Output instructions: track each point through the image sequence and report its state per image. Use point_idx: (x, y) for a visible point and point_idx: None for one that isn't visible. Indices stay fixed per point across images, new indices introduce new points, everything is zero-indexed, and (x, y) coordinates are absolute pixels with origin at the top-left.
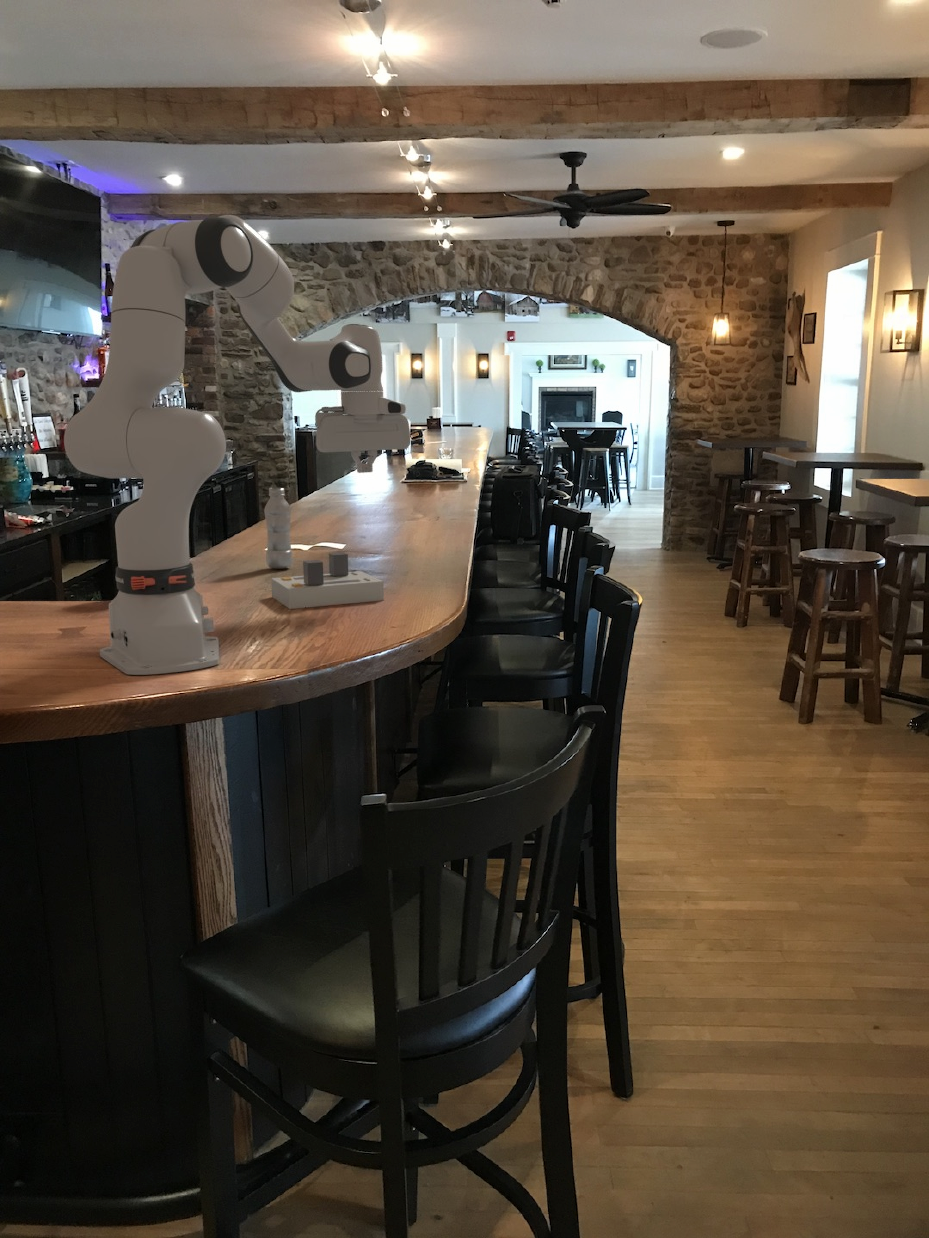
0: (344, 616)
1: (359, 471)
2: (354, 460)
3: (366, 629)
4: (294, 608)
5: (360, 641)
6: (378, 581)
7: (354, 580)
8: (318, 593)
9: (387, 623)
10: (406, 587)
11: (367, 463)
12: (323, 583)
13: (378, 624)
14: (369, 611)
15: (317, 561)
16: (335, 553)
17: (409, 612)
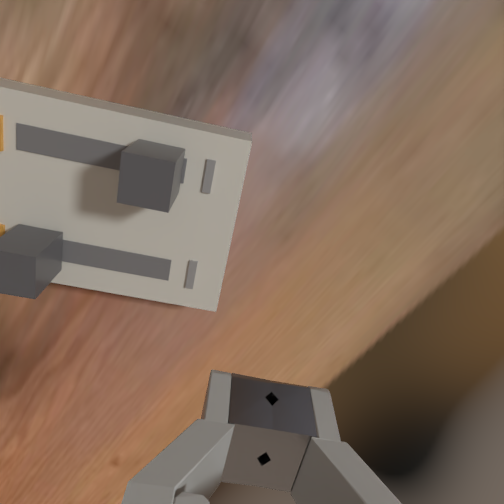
0: (74, 364)
1: (201, 416)
2: (167, 455)
3: (69, 452)
4: None
5: (31, 497)
6: (204, 307)
7: (156, 268)
8: None
9: (119, 440)
10: (361, 189)
11: (314, 443)
12: (60, 270)
13: (102, 438)
14: (136, 356)
15: (24, 280)
16: (139, 171)
17: (197, 400)
